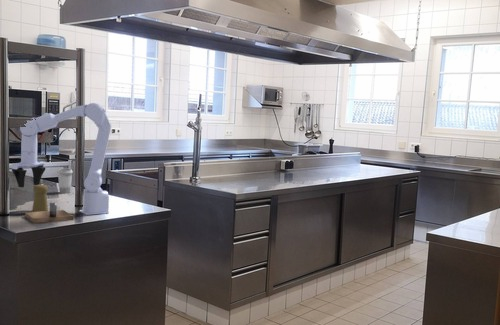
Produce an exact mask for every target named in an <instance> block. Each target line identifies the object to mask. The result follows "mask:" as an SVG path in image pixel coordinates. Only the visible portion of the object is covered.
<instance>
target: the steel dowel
mask: <svg viewBox="0 0 500 325" xmlns="http://www.w3.org/2000/svg"><path fill="white" fill-rule="evenodd" d="M57 204H58V202H49V211H50V215H49V217H56V215H57V210H58V209H57V208H58V205H57Z"/></svg>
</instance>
